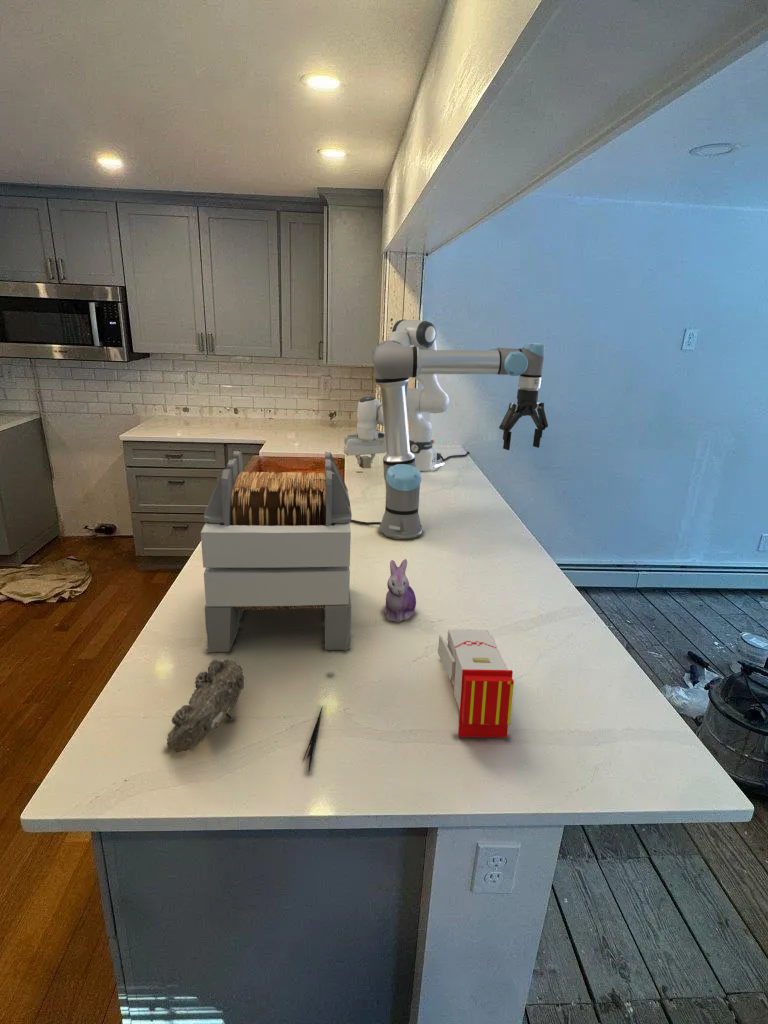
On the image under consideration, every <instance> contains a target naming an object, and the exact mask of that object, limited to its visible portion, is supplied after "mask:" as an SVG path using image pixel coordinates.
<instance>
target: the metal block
mask: <svg viewBox="0 0 768 1024" xmlns="http://www.w3.org/2000/svg"><path fill="white" fill-rule="evenodd" d="M359 459H360V460H362V464H358V467H359V468H360V469H361V468H362V469H364V470H365V469H371V468H372V463H371V456H368V455H360V457H359Z"/></svg>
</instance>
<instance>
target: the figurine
mask: <svg viewBox="0 0 768 1024" xmlns="http://www.w3.org/2000/svg"><path fill="white" fill-rule="evenodd" d="M407 567H408V559H406V558H404V559H403V560H402V561H401V563H400V565H399V566H398V565H397V563H396V562H395V561H394V560H393V559H391V560H390V561H389V570H390V576H389V578H388V579H387V589H388V591H387V592H386V594H385V595H386V596H385V607H384V615H385V616H386V620H387V621H391V622H395V623H400V622H402V621H406V620H409V619H410V618H411V617H413V616H414V615H415V610H416V606H417V597H416V593H415V591H414V590H413V587H411V586H410V582H409V579H408V577H407V574H406V571H407Z"/></svg>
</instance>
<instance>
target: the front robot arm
mask: <svg viewBox="0 0 768 1024" xmlns="http://www.w3.org/2000/svg"><path fill="white" fill-rule="evenodd" d="M387 340H388V339H387ZM387 340H384V341H382V342H379V344H377V346H376V347H375V348H374V350H373V353H372V363H373V369H374V380H375V384H376V385H377V386H378V387H379V388H380V399H381V403H382V410H383V420H384V426H383V431H384V433H385V442H386V453H385V455H384V456H383V457H382V463H383V479H384V483H385V484H384V485H385V504H384V505H385V507H384V508H385V509H384V513H383V515H382V519H381V521H360V520H357V519H351V521H350V522H349V523H353V524H358V525H365V526H378V533H379V534H380V535H381V536H382V537H385V538H387V539H389V540H395V541H410V540H415V539H418V538H420V537H421V536H422V535H423V525H422V524H421V518H420V515H419V507H420V506H419V505H420V490H421V483H422V475H421V471H419V470H418V469H417V468H416V467H415V455H414V454H413V453H411V452H410V444H409V421H408V418H407V406H406V393H405V384H406V383H407V382H408V383H409V380H410V378H414V377H418V376H419V375H420V374H436V375H497V376H498V375H499V376H501V375H502V376H503V375H504V376H505V375H506V376H507V375H509V376H511V377H518V384H517V387H518V389H517V392H516V400H517V402H516V403H514V402H510V403H509V404H508V409H507V411H506V413H505V414H504V416H503V419H502V421H501V423H500V424H499V427H498V429H499V430H502V431H503V434H502V440H503V445H502V449H503V450H506V451H510V448H511V440H512V431H511V430H512V429H513V427H514V426H515V425H516V424H517V422H518V421H519V420H520V419H521V418H522V417H526V416H529V417H530V418H531V420H532V422H533V423H534V424H535V427H536V428H534V434H533V439H532V440H533V441H532V447H535V448H537V449H539V448H540V443H541V438H543V431H545V430H546V429H547V428H549V424H548V420H547V419H548V418H547V416H546V412H545V403H544V402H542V401H539V398H540V388H541V382H542V375H543V368H544V363H545V362H544V361H545V354H546V347H545V344H543V343H538V342H537V343H536V342H524V343H523V345H522V347H521V348H510V347H500V346H499V347H490V348H488V350H476V349H475V350H470V349H469V350H468V349H467V350H464V349H455V350H453V349H437V350H420V349H419V348H418V347H414V346H404V345H402V344H400V343H399V342H397V341H394V340H388V341H387Z"/></svg>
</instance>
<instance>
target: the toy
mask: <svg viewBox="0 0 768 1024" xmlns="http://www.w3.org/2000/svg"><path fill="white" fill-rule="evenodd" d="M446 640H447V643H446V641H445V639H444V636H443V635H442V634H439V637H438V646H437V656H438V657H439V659H440V661H441V663H442V666H443V668H444V670H445V672H446V674H447V677H448V679H449V681H450V684H451V687H452V690H453V693H454V697H455V701H456V705H457V708H458V711H459V714H458V715H459V716H458V730H457V731H458V732H457V737H458V738H508V731H509V726H510V725H511V717H512V707H513V697H514V696H513V695H514V684H515V680H514V679H513V673H514V671H513V670H512V669H508V667H507V665H506V662H505V661H504V659H503V658H502V655H501V653H500V651H499V649H498V647H497V643H496V639H495V637H494V635H493V634H491V632H490V631H489V629H467V628H466V629H465V628H463V629H461V628H460V629H459V628H448V630H447V639H446Z"/></svg>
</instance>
